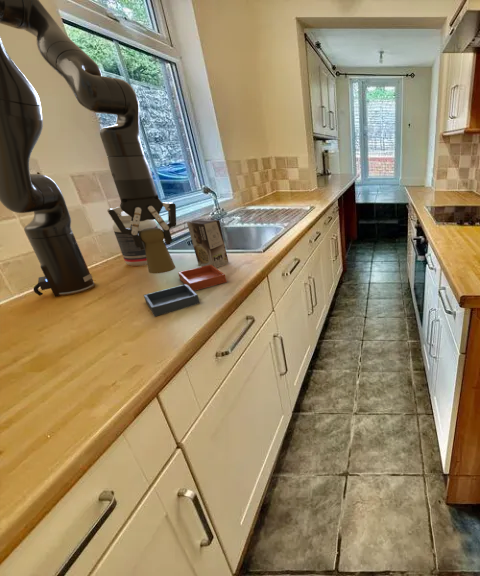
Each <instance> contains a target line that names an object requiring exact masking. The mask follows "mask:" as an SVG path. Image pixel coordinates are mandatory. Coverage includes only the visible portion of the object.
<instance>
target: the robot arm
mask: <svg viewBox="0 0 480 576" xmlns="http://www.w3.org/2000/svg"><path fill="white" fill-rule="evenodd" d="M0 24H1V25H3V26H6V27H10V28H13V29H16V30H22V31H26V32H28V33H29V34H31V35H33V36H34V37H35V38H36V47H37V49H38V52H39V53H40V55H41V56H42V58H43V60H44V61H45V62H46V63H47V64H48V65H49V66H50V67H51V68H52V69H53V70H54V71H55V72H56V73H58V75H60V77H62V78H63V79H64V80H65V82H66V84H67V85H68V87H69V88H70V90H71V92H72V94H73V96H74V97H75V99H76V101H77V102H78V104H80V105H81V106H82V107H83V108H84V109H86V110H88V111H89V112H92V113H95V114H101V115H102V114H103V115H114V116H116V120H115V121H116V122H115V124H114V125H110V126H104V127H102V128H100V130H99V136H100V139H101V142H102V146H103V149H104V150H105V151H104V152H105V154H106V157H107V161H108V167H109V170H110V172H111V176H112V179H113V183H114V185H115V188H116V191H117V194H118V197H119V200H120V204H119V206H117V207H114V208H108V209H107V213H108V215H109V216H110V218H111V220H112V219H113V220H112V221H113V223H115V224H116V225H117V227H118V228H119V230H120V231H121V232H122V233H123V234H130V235H132V238H133V241H134V244H135V246H136V247H137V248H140V249H141V250H142V249H144V247H143V244H142V241H141V238H140V235H139V234H138V227H139V223H140V221H145V220H155V221H156V223H157V225H159V226H160V227H161V230H162V231H163V233H164V239H163V241H164V243H165V245H166V246H167V245H168V246H169V245H171V243H172V242H173V237H172V233H171V229H172V228H173V227H174V228H175V227H176V226H177V205H176V203H174V202H172V201H169V202H166V201H165V202H164V201H162V200H161V199H160V197H159V194H158V191H157V187H156V184H155V183H156V182H155V181H154V177H153V172H152V170H151V167H150V164H149V162H148V160H147V157H146V155H145V151H144V148H143V144H142V139H141V135H140V102H139V97H138V95H137V92H136V91H135V90H134V88H133V87H132V86H131V85H130V84H129V82H127V81H125V80H124V79H121V78H116V77H109V76H105V75H103V73H102V70H101V68H100V67H99V65H98V64H97V63H96V62H95V60H93V59H92V57H91V56H89V55H88V54H87V53H86V52H85V51H84V50H83V49H82V48H80V46H78V44H76V43H75V42H74V41H73V40H72V39H71V38H70V37H69V36H68V35H67V33H65V31H64V30H63V29H62V28H61V26H60V25H59V24H58V23H57V21H56V20H55V19H54V17H53V16H52V15H51V14H50V13H49V11H48V10H47V9H46V8H45V6H44V5H43V3H42V2H41V1H40V0H0ZM40 99H41V98H40V96H39V95H38V92H37V91H36V89H35V88H34V86H33V85H32V83H31V82H30V81H29V80H28V79H27V77H26V76H25V74H24V73H23V72H22V71H21V70H20V68H19V67H18V66H17V65H16V63H15V62H14V60H13V59H12V58H11V56H10V55H9V53H8V51H7V50H6V48H5V45H4V44H3V41H2V38H1V37H0V203H1V204H2V205H3V207H4V208H6V209H7V210H9V211H11V212H13V213H17V214H26V213H27V214H28V213H33V215H34V216H33V218H32V220H31V221H29V223H28V224H27V225H25V226H24V229H23V231H24V234H25V235H26V237H27V239H28V241H29V244H30V247H31V248H32V250H33V252H34V254H35V257H36V258H37V261H38V262H39V264H40V270H41V272H42V273H43V276H39V277H38V279H37V284H36V285H34V287H33V292H34V294H36V295H37V296H40V297H41V296H43V295H44V293H43V292H42V291H46V290H51V292H52V294H53V297H55V298H57V297H62V296H63V297H66V296H72V295H77V294H80V293H84V292H87V291H90V290H92V289H93V288H95V287H96V283H95V281H94V279H93V275H92V273H91V272H90V270H89V268H88V264H87V263H86V261H85V258H84V256H83V253H82V250H81V249H80V245H79V244H78V241H77V239H76V236H75V234H74V232H73V229H72V218H71V214H70V211H69V208H68V206H67V202H66V199H65V197H64V195H63V192H62V191H61V189H60V187H59V186H58V184H57V183H56V182H55V181H54V180H53V179H52V178H51V177H49V176H47V175H45V174H41V173H31V172H30V159H31V155H32V152H33V150H34V148H35V146H36V145H37V143H38V141H39V138H40V137H41V135H42V131H43V127H44V122H43V113H42V105H41V100H40ZM163 208H164V209H165V211H166V212H167V218H168V219H167V220H168V221H167V222H165V220H164V219H163V218H162V216H161V215H160V213H161V211H162V209H163ZM123 211H124V212H125V213H127V214H128V215H129V216H131V222H130V223H131V225H130V228H125V226H124V225H123V223H122V221H121V220H120V218H119V217H121V212H123ZM39 289H40V290H41V291H40V290H39Z"/></svg>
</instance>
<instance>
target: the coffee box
mask: <svg viewBox="0 0 480 576" xmlns="http://www.w3.org/2000/svg"><path fill="white" fill-rule="evenodd" d="M186 224H187V229H188V232H189V235H190V240H191V243H192V247H193V250H194V253H195V257H196V261H197V265H198V266H199V267H202V266H207V265H213V266H214V267H215V268H217V269H218V268H220V267H224V266H226V265H228V264H230V262H229V258H228V254H227V253H228V252H227V249H226V244H225V240H224V235H223V231H222V225H221V222H220V220H219V219H212V218H211V219H210V218H198V219H194V220H190V221H187V222H186Z"/></svg>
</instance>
